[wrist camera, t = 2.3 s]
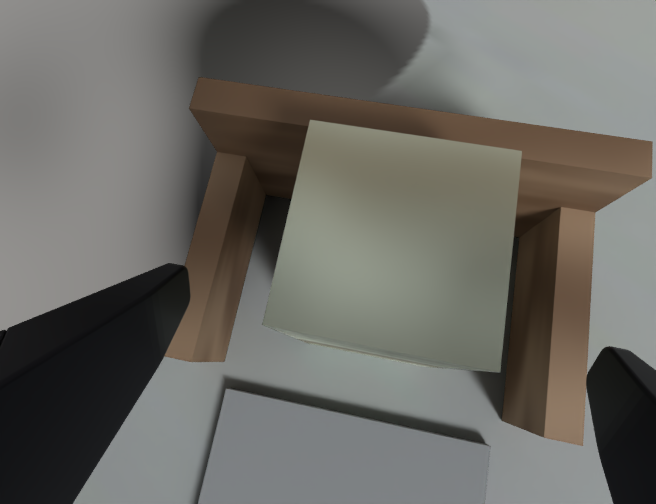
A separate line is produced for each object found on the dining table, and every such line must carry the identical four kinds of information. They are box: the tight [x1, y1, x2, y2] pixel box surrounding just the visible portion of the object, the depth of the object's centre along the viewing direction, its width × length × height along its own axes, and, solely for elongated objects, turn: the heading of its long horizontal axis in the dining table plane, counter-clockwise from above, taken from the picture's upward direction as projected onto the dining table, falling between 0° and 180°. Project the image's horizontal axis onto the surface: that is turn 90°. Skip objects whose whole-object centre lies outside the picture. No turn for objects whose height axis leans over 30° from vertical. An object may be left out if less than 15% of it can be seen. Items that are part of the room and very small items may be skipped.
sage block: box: [262, 120, 522, 373], centre depth 14 cm, size 5×5×10 cm
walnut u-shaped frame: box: [165, 77, 652, 446], centre depth 16 cm, size 9×14×7 cm, turn 79°
